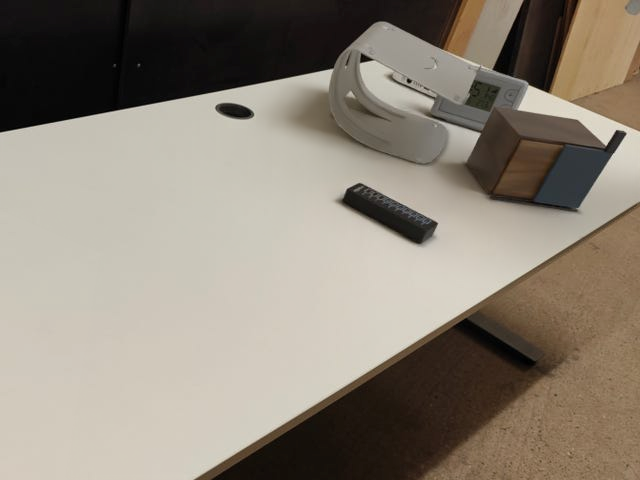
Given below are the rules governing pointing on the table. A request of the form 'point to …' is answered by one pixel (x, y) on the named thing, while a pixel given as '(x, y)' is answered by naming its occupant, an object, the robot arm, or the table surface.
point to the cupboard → (523, 152)
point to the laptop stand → (399, 126)
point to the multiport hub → (390, 213)
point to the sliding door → (575, 173)
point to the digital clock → (482, 99)
